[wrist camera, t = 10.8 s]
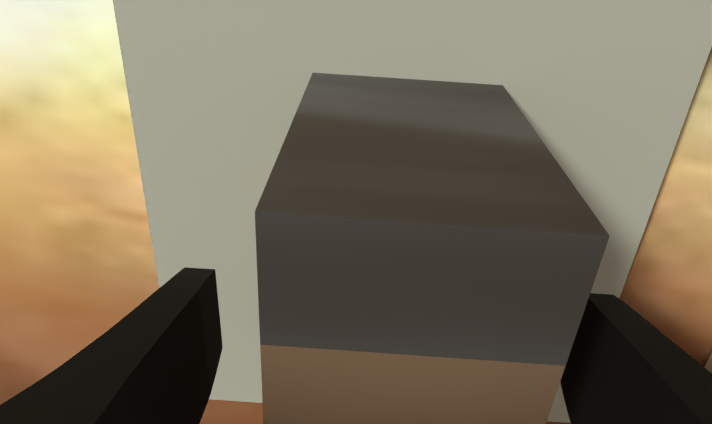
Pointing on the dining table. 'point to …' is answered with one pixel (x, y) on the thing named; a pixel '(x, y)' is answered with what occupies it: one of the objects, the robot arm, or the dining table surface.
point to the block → (418, 258)
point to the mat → (392, 60)
